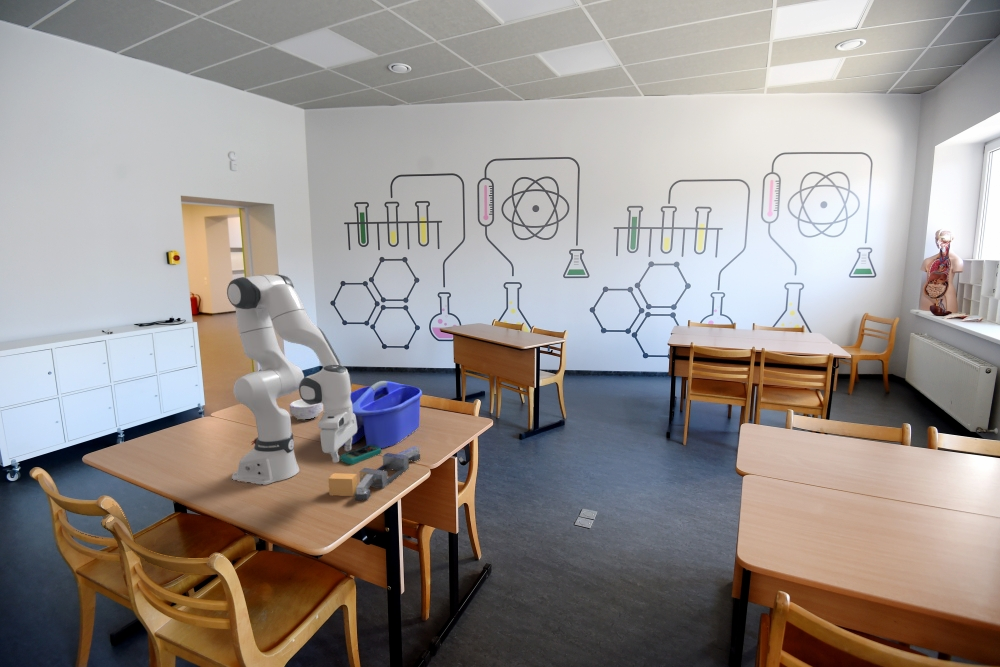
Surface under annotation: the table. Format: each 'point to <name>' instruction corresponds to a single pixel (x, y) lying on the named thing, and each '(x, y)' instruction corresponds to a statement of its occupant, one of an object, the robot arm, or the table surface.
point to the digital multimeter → (360, 454)
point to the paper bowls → (305, 409)
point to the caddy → (385, 412)
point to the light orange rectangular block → (342, 484)
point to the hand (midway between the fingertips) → (342, 455)
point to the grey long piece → (379, 476)
